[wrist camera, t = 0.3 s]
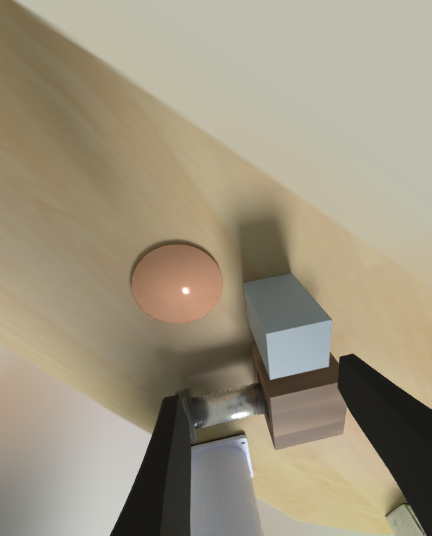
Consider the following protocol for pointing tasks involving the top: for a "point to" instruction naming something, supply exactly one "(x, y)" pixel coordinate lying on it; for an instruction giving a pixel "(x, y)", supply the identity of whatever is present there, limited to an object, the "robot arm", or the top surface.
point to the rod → (222, 406)
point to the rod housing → (302, 403)
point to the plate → (177, 283)
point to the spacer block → (287, 326)
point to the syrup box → (404, 522)
